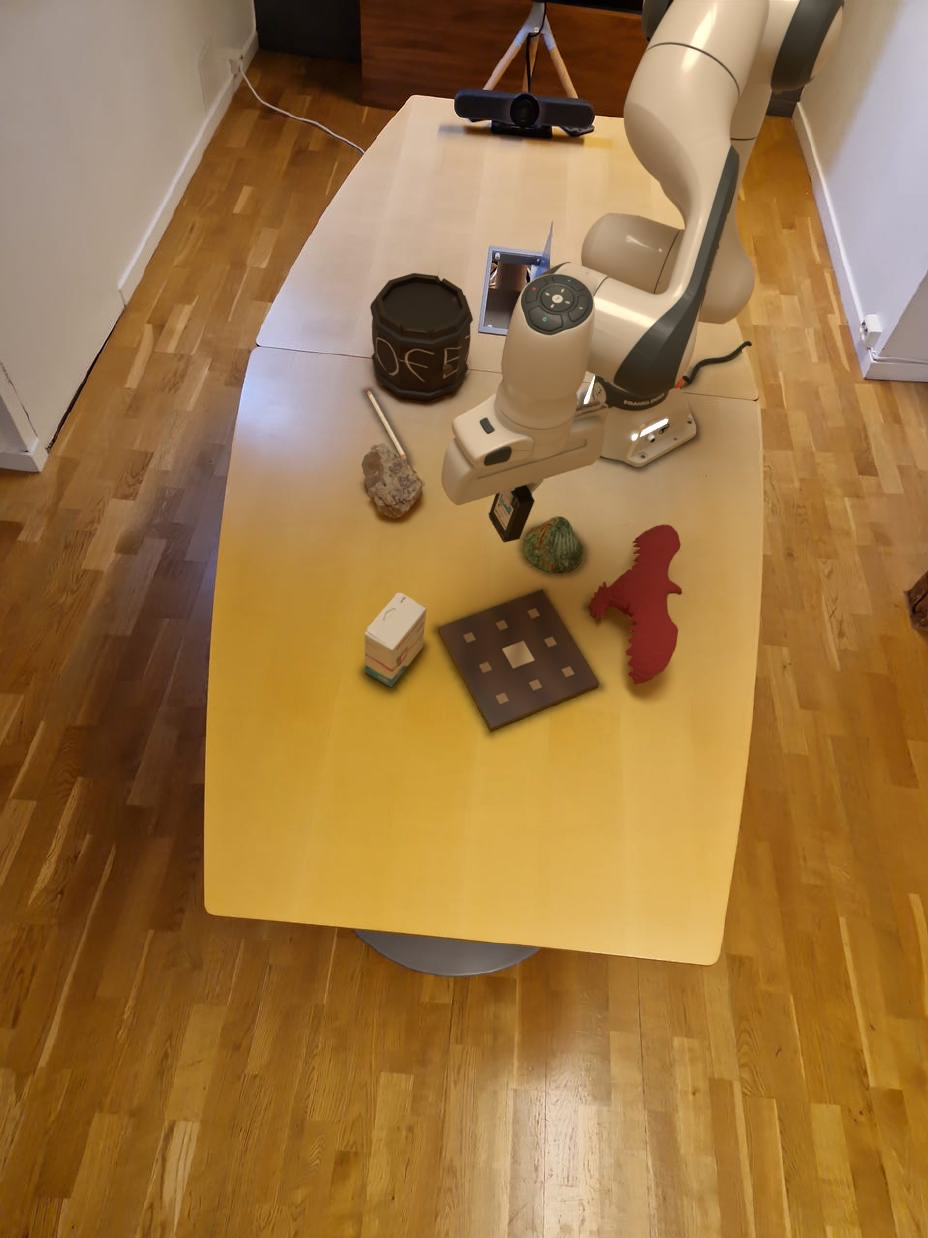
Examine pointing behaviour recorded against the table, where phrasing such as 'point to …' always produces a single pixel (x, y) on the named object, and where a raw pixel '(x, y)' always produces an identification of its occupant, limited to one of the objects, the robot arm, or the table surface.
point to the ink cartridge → (511, 513)
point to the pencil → (385, 423)
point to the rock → (391, 481)
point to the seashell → (553, 546)
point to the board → (517, 659)
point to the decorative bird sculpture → (645, 602)
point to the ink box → (394, 639)
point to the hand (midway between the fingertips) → (516, 500)
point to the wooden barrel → (420, 337)
